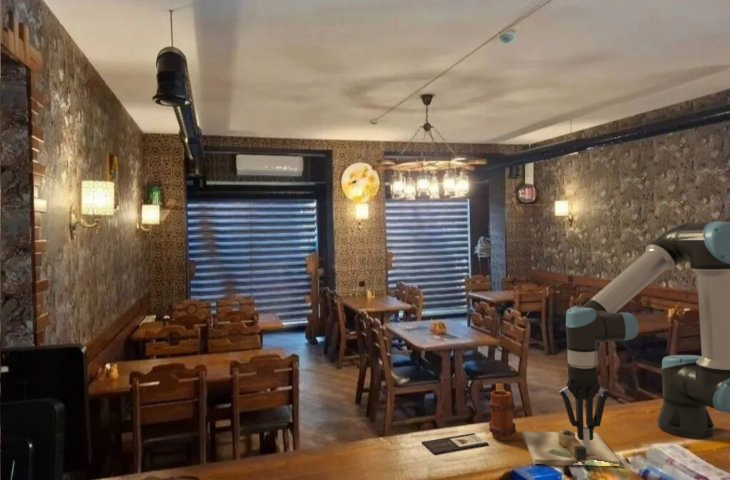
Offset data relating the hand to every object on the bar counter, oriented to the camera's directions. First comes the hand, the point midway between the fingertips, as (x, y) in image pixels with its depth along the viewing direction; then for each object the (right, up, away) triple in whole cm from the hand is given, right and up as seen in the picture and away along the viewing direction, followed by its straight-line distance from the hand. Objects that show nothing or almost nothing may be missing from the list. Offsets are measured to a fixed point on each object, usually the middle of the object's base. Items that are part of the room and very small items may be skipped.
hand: (585, 451), depth 139 cm
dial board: (-2, -3, +9) cm, 9 cm away
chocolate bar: (-33, -5, +16) cm, 37 cm away
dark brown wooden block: (-2, -2, +4) cm, 5 cm away
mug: (-17, -4, +22) cm, 28 cm away
